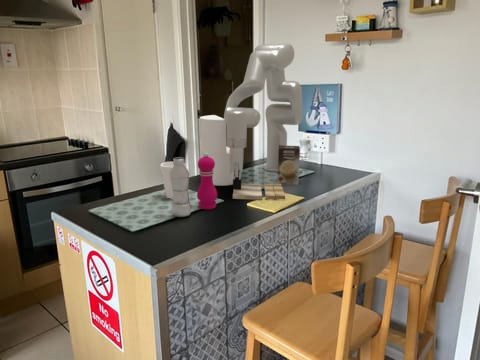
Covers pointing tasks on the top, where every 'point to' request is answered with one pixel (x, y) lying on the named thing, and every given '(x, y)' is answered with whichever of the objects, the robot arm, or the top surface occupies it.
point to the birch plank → (248, 192)
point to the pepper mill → (206, 183)
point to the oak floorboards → (274, 191)
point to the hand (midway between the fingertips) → (237, 188)
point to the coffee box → (288, 165)
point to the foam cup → (167, 178)
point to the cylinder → (216, 148)
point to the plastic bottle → (180, 188)
